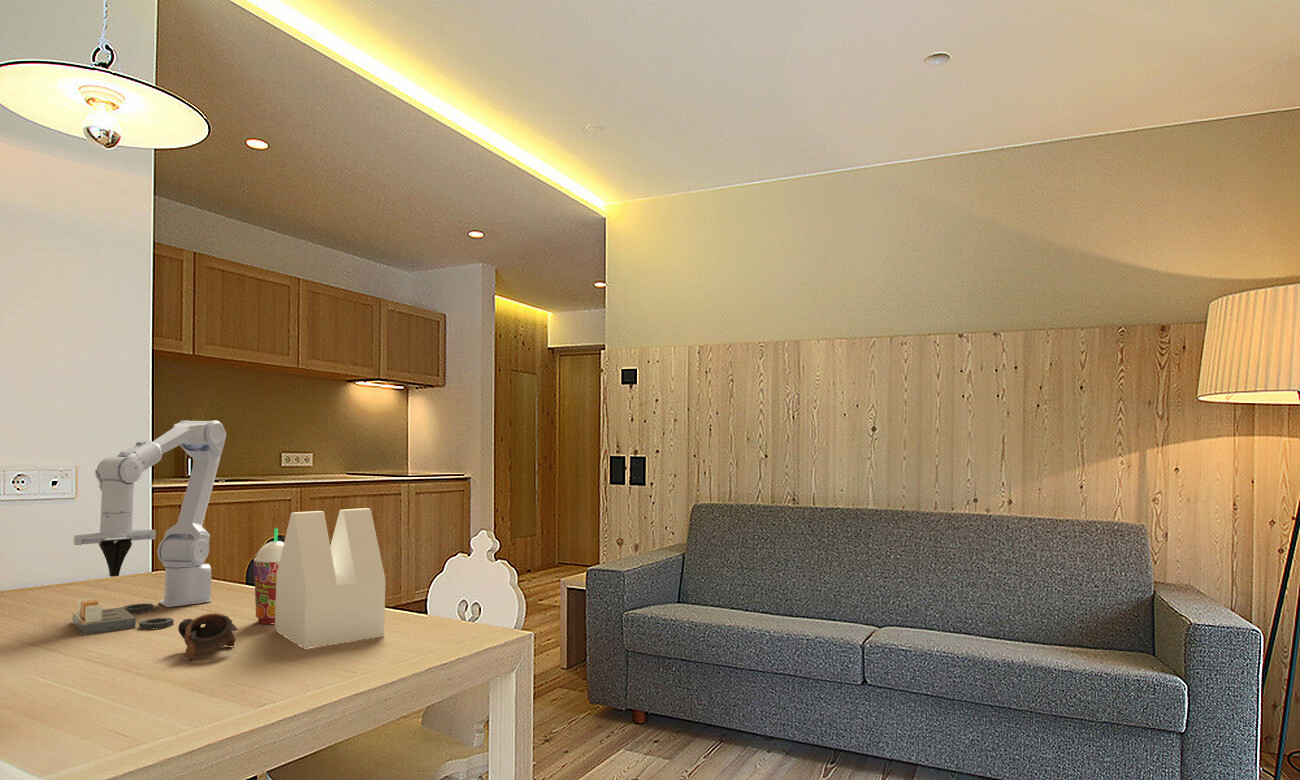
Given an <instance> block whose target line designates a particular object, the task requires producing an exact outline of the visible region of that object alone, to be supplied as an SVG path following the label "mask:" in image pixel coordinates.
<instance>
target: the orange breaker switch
mask: <svg viewBox="0 0 1300 780" xmlns="http://www.w3.org/2000/svg"><path fill="white" fill-rule="evenodd" d="M91 605H99V601H98V600H97V599H94V600H88V601H82V608H81V616H82V617H83V618H85V606H91Z"/></svg>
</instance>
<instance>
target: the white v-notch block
mask: <svg viewBox="0 0 1300 780" xmlns="http://www.w3.org/2000/svg"><path fill="white" fill-rule="evenodd" d="M326 520H327V519H326V514H325V511H322V510H316V511H315V510H313V511H311V510H310V511H298V512H297V511H295V512H290V516H289V520H288V526H287V529H286V533H285V536H284V537H285V538H284V541H283V542H284V545H283V550H282V554H281V558H280V562H279V567H278V571H277V578H276V610H275V624H274V630H275V629H276V630H277V631H279V632H280V633H282V634H283V635H285V636H287V637H288V638H290V639H291V640H293V641H294V642H296V643H297V644H299V645H301V646H302V647H303V648H309V647H315V646H316V647H317V646H323V645H329V644H334V643H341V642H347V641H354V640H360V641H363V640H362V639H366V640H370V638H372V639H375V638H376V637H377V638H382V636H383V637H385V618H386V617H385V613H386V612H385V611H386V610H385V609H386V608H385V606H386V576H385V571H384V565H383V562H382V556H381V552H380V547H379V542H378V538H377V533H376V528H375V522H374V519H373V513H372V509H371V508H368V507H364V508H352V509H351V508H350V509H349V508H348V509H339V512H338V515H337V520H336V524H335V527H334V531H333V534H332V539H331V542H330V538H329V533H328V527H327V521H326ZM277 631H276V632H277ZM280 633H279V634H280ZM283 635H282V636H283ZM377 638H376V639H377ZM354 642H355V641H354Z"/></svg>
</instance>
